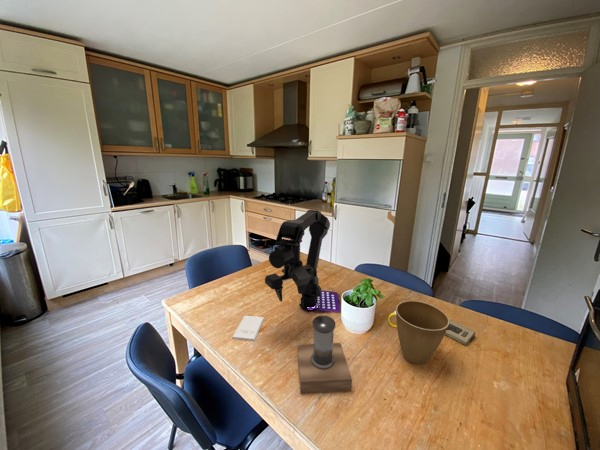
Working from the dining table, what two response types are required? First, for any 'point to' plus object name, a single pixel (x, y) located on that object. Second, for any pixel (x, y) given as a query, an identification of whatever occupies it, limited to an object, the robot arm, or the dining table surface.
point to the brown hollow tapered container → (420, 330)
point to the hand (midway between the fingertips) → (291, 297)
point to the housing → (323, 342)
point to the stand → (323, 372)
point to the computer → (459, 333)
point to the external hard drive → (248, 328)
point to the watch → (389, 319)
